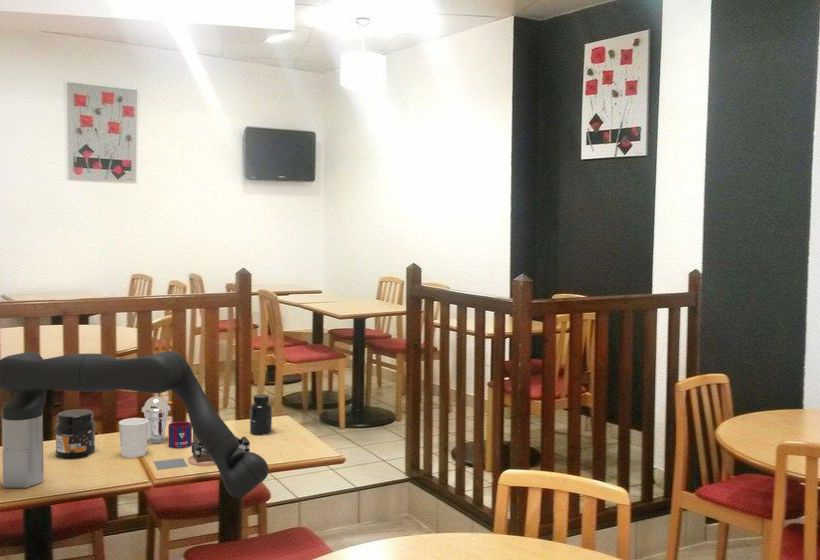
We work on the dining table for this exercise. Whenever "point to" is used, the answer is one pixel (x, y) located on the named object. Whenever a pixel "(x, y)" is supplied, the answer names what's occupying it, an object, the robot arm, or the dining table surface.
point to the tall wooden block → (204, 456)
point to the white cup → (133, 437)
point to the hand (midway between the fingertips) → (215, 439)
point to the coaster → (170, 464)
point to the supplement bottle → (260, 415)
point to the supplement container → (75, 433)
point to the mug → (180, 434)
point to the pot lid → (193, 462)
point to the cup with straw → (156, 418)
